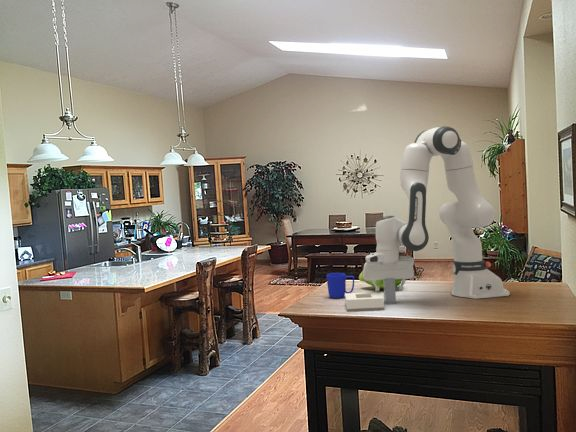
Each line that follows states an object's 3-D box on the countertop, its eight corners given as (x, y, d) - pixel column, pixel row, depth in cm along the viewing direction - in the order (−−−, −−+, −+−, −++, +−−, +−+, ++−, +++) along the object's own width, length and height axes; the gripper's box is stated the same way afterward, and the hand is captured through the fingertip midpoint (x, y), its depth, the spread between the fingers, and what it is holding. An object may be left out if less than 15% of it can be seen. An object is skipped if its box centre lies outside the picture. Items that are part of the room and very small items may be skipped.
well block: (380, 302, 205) (379, 291, 205) (384, 309, 193) (383, 298, 193) (345, 304, 206) (344, 293, 206) (347, 311, 194) (346, 300, 194)
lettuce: (366, 284, 244) (365, 256, 243) (407, 286, 234) (406, 257, 233) (354, 291, 230) (353, 261, 229) (397, 293, 220) (396, 262, 220)
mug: (354, 299, 215) (353, 275, 214) (326, 299, 217) (325, 276, 217) (355, 294, 223) (354, 272, 222) (328, 295, 225) (327, 273, 225)
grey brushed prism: (394, 300, 207) (392, 276, 207) (396, 303, 202) (394, 278, 202) (384, 301, 208) (383, 277, 207) (385, 304, 203) (384, 279, 202)
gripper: (412, 254, 206) (413, 287, 207) (361, 256, 208) (363, 289, 208) (415, 256, 200) (416, 290, 201) (363, 258, 201) (364, 293, 202)
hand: (389, 290), depth 205 cm, fingers open, 8 cm apart
